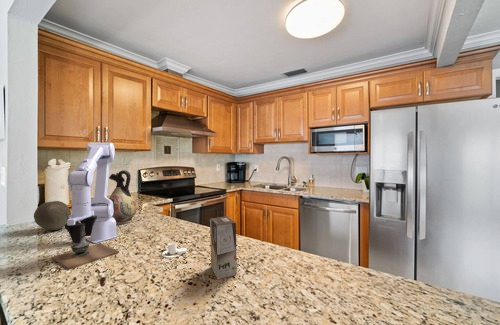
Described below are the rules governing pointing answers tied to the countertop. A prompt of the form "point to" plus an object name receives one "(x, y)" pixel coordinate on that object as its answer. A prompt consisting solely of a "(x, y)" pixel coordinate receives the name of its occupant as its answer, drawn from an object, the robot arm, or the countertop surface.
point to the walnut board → (94, 254)
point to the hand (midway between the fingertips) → (82, 239)
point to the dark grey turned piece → (81, 246)
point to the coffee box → (223, 247)
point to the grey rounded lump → (52, 215)
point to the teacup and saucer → (173, 250)
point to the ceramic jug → (122, 199)
